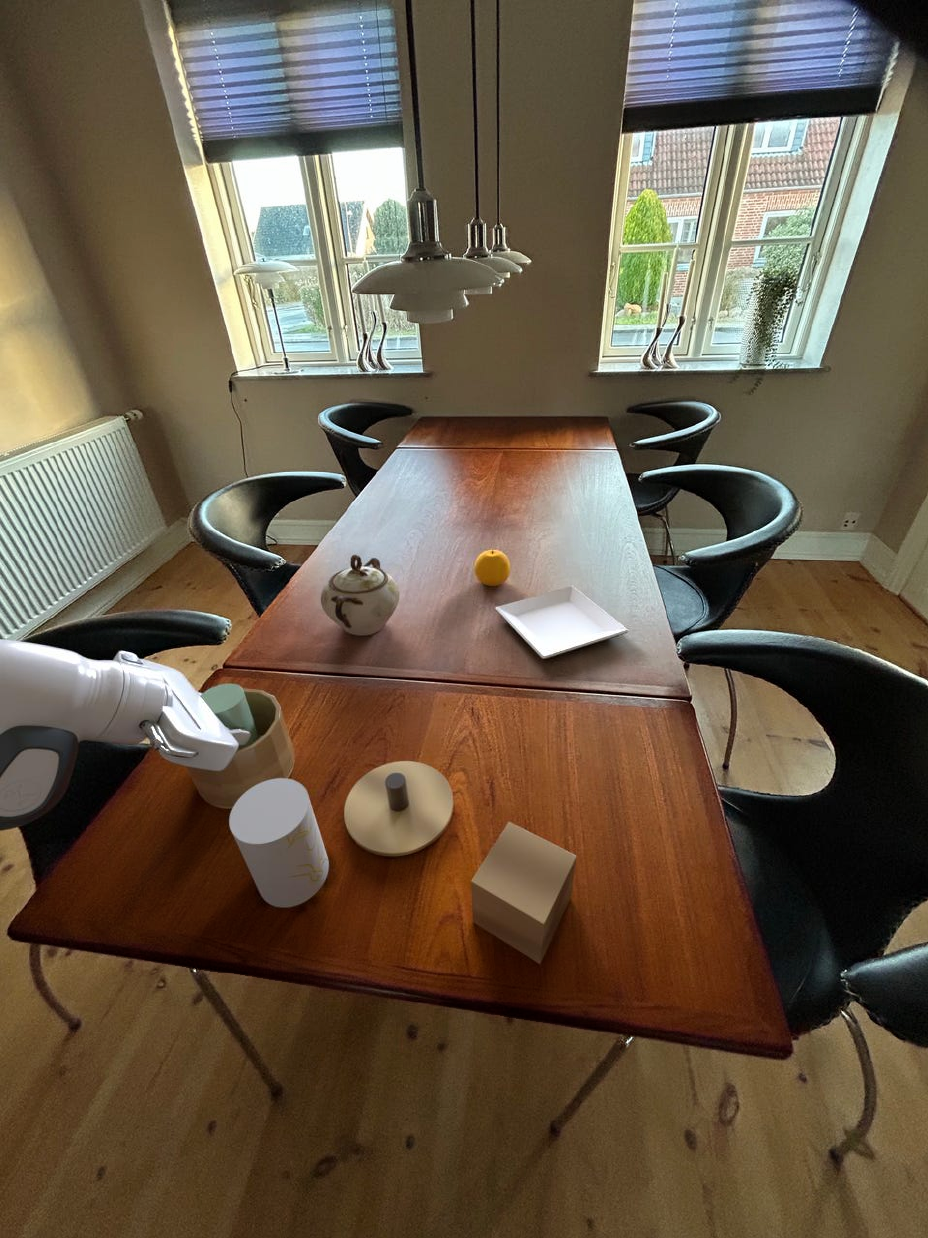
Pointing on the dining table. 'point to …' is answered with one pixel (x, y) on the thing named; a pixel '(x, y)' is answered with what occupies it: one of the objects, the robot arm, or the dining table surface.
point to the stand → (523, 890)
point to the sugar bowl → (360, 597)
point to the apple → (492, 568)
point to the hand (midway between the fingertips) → (234, 722)
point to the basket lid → (398, 808)
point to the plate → (560, 621)
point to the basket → (251, 756)
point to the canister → (231, 709)
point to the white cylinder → (280, 841)
